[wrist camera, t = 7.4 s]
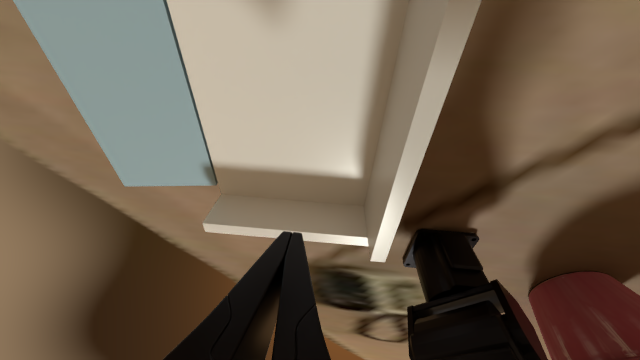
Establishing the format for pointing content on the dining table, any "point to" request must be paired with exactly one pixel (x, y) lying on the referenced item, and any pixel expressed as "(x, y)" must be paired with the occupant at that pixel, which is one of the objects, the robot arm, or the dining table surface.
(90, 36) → the tailgate
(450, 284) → the robot arm
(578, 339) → the plant pot
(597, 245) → the dining table surface
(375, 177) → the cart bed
